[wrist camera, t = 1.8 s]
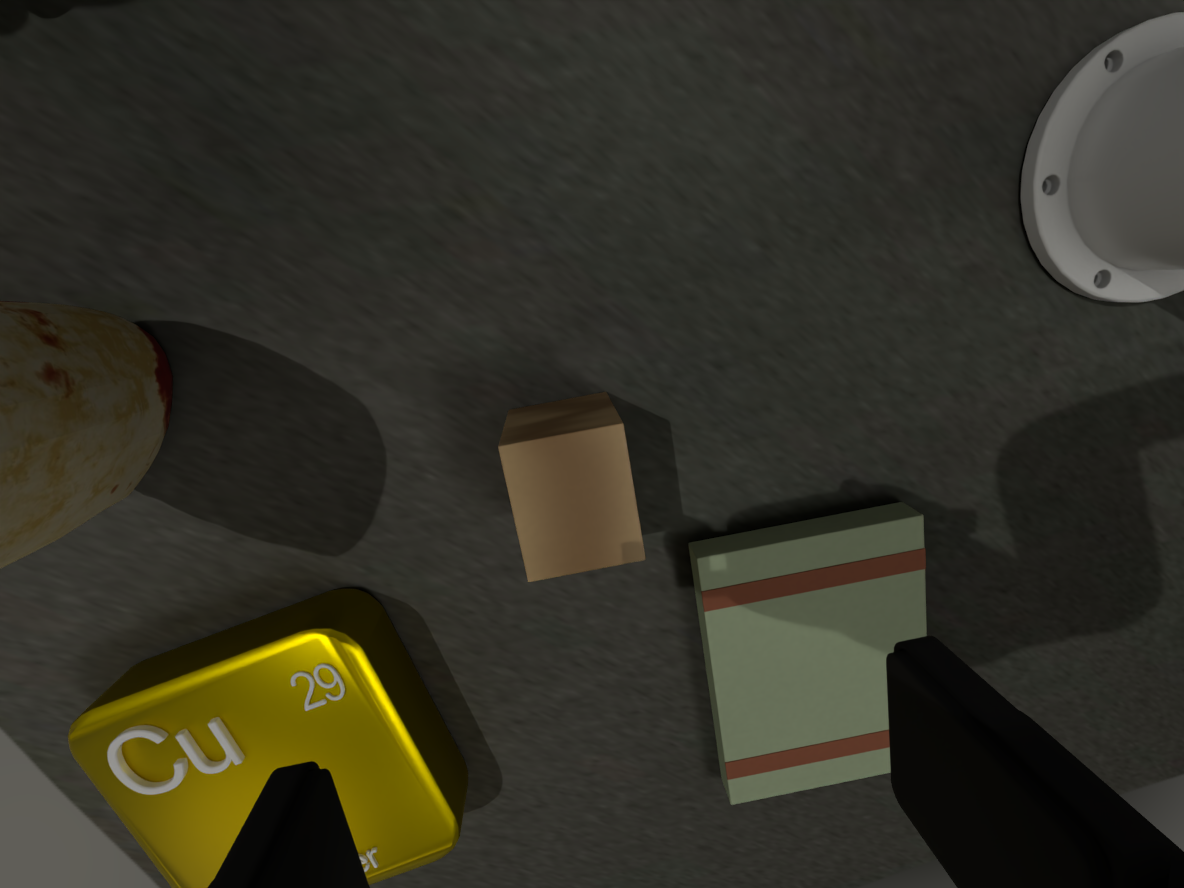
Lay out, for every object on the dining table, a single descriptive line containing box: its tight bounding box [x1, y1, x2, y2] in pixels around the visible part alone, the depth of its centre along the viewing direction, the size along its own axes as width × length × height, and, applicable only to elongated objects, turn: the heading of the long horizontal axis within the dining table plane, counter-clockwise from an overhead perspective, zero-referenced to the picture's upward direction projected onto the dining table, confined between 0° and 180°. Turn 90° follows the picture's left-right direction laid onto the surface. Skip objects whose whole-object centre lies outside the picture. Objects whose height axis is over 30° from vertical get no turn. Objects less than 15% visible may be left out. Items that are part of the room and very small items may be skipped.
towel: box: [688, 502, 927, 805], centre depth 34 cm, size 12×16×2 cm
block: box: [498, 392, 646, 582], centre depth 28 cm, size 5×6×7 cm
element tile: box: [68, 589, 468, 888], centre depth 32 cm, size 15×15×5 cm
